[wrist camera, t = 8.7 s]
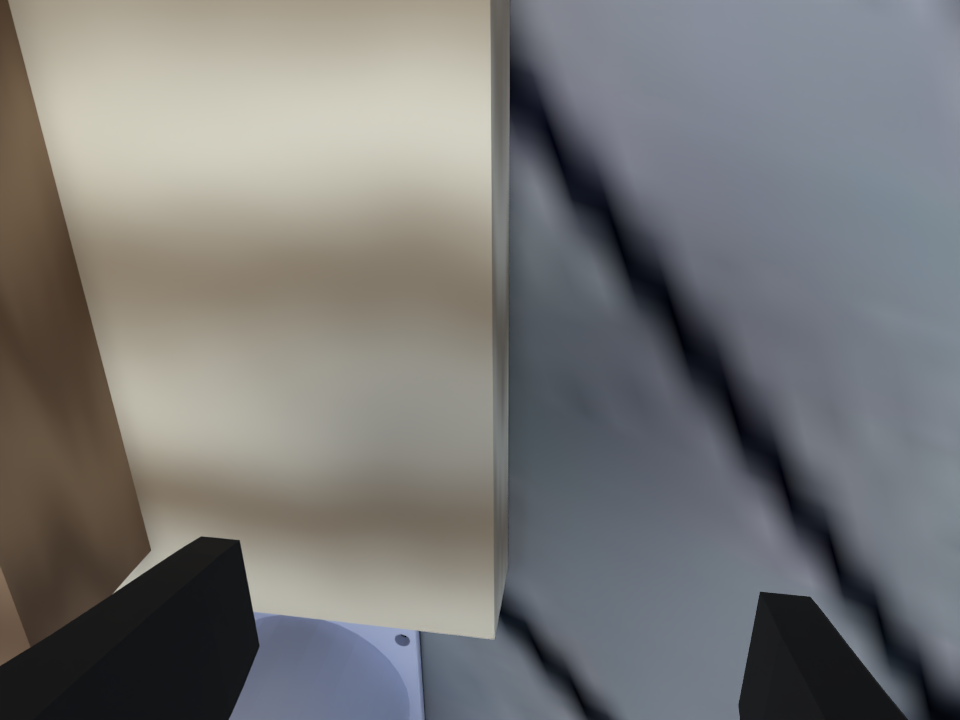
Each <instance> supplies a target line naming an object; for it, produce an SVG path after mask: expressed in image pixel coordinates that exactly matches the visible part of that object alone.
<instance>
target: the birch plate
mask: <svg viewBox="0 0 960 720" xmlns="http://www.w3.org/2000/svg"><path fill="white" fill-rule="evenodd" d="M8 2H9V6H10V10H11V13H12V17H13V21H14V25H15V29H16V33H17V36H18V40H19V44H20V48H21V52H22V56H23V60H24V63H25V67H26V71H27V75H28V79H29V83H30V86H31V90H32V94H33V98H34V102H35V106H36V109H37V113H38V117H39V121H40V125H41V129H42V133H43V136H44V140H45V144H46V148H47V152H48V156H49V159H50V163H51V167H52V171H53V175H54V179H55V182H56V186H57V190H58V194H59V198H60V202H61V206H62V209H63V213H64V217H65V221H66V225H67V229H68V232H69V236H70V240H71V244H72V248H73V252H74V255H75V259H76V263H77V267H78V271H79V275H80V279H81V282H82V286H83V290H84V294H85V298H86V302H87V305H88V309H89V313H90V317H91V321H92V325H93V328H94V332H95V336H96V340H97V344H98V348H99V352H100V355H101V359H102V363H103V367H104V371H105V375H106V378H107V382H108V386H109V390H110V394H111V398H112V401H113V405H114V409H115V413H116V417H117V421H118V425H119V428H120V432H121V436H122V440H123V444H124V448H125V451H126V455H127V459H128V463H129V467H130V471H131V474H132V478H133V482H134V486H135V490H136V494H137V498H138V501H139V505H140V509H141V513H142V517H143V521H144V524H145V528H146V532H147V536H148V540H149V544H150V547H151V551H150V552H149V554H148V555H147V556H146V557H145V558H144V559H143V560H142V561H141V562H140V564H139V565H138V566H137V567H136V568H135V569H134V570H133V571H132V573H131V574H130V575H129V576H128V577H127V578H126V579H125V580H124V582H123V583H122V584H121V585H120V586H119V587H118V588H117V589H116V590H115V592H116V591H118V590H119V589H121V588H122V587H124V586H125V585H127V584H128V583H130V582H131V581H133V580H134V579H136V578H137V577H139V576H140V575H142V574H143V573H145V572H146V571H148V570H149V569H151V568H152V567H154V566H155V565H157V564H158V563H160V562H161V561H163V560H164V559H166V558H167V557H169V556H170V555H172V554H173V553H175V552H176V551H178V550H179V549H181V548H183V547H184V546H186V545H187V544H189V543H191V542H192V541H194V540H196V539H197V538H199V537H201V536H204V537H214V538H224V539H234V540H240V544H241V549H242V554H243V560H244V565H245V570H246V576H247V581H248V586H249V592H250V597H251V602H252V608H253V612H260V613H269V614H277V615H286V616H295V617H303V618H312V619H321V620H329V621H338V622H346V623H355V624H364V625H372V626H381V627H390V628H398V629H407V630H416V631H424V632H433V633H442V634H450V635H459V636H468V637H476V638H485V639H494V640H495V634H496V629H497V624H498V618H499V613H500V608H501V603H502V597H503V592H504V587H505V581H506V576H507V571H508V413H509V125H510V0H8ZM115 592H114V593H115Z"/></svg>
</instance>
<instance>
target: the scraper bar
mask: <svg viewBox="0 0 960 720" xmlns="http://www.w3.org/2000/svg"><path fill="white" fill-rule="evenodd" d="M150 551H151V547H150V544H149V540H148V536H147V532H146V528H145V524H144V521H143V517H142V513H141V509H140V505H139V501H138V498H137V494H136V490H135V486H134V482H133V478H132V474H131V471H130V467H129V463H128V459H127V455H126V451H125V448H124V444H123V440H122V436H121V432H120V428H119V425H118V421H117V417H116V413H115V409H114V405H113V401H112V398H111V394H110V390H109V386H108V382H107V378H106V375H105V371H104V367H103V363H102V359H101V355H100V352H99V348H98V344H97V340H96V336H95V332H94V328H93V325H92V321H91V317H90V313H89V309H88V305H87V302H86V298H85V294H84V290H83V286H82V282H81V279H80V275H79V271H78V267H77V263H76V259H75V255H74V252H73V248H72V244H71V240H70V236H69V232H68V229H67V225H66V221H65V217H64V213H63V209H62V206H61V202H60V198H59V194H58V190H57V186H56V182H55V179H54V175H53V171H52V167H51V163H50V159H49V156H48V152H47V148H46V144H45V140H44V136H43V133H42V129H41V125H40V121H39V117H38V113H37V109H36V106H35V102H34V98H33V94H32V90H31V86H30V83H29V79H28V75H27V71H26V67H25V63H24V60H23V56H22V52H21V48H20V44H19V40H18V36H17V33H16V29H15V25H14V21H13V17H12V13H11V10H10V6H9V2H8V0H0V666H1V665H2V664H4V663H6V662H7V661H9V660H10V659H12V658H14V657H15V656H17V655H19V654H20V653H22V652H23V651H25V650H27V649H28V648H30V647H32V646H33V645H35V644H36V643H38V642H40V641H41V640H43V639H45V638H46V637H48V636H49V635H51V634H53V633H54V632H56V631H57V630H59V629H60V628H62V627H63V626H65V625H66V624H68V623H69V622H71V621H72V620H74V619H76V618H77V617H79V616H80V615H82V614H83V613H85V612H86V611H88V610H89V609H91V608H92V607H94V606H95V605H97V604H98V603H100V602H101V601H103V600H104V599H106V598H107V597H109V596H110V595H112V594H113V593H114V592H115V590H116V589H117V588H118V587H119V586H120V585H121V584H122V583H123V582H124V580H125V579H126V578H127V577H128V576H129V575H130V574H131V573H132V571H133V570H134V569H135V568H136V567H137V566H138V565H139V564H140V562H141V561H142V560H143V559H144V558H145V557H146V556H147V555H148V554H149V552H150Z"/></svg>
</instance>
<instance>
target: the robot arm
mask: <svg viewBox="0 0 960 720" xmlns="http://www.w3.org/2000/svg"><path fill="white" fill-rule="evenodd" d="M400 634H402V635H405V636H407V637H403V636H401V635H400ZM739 714H740V720H908V719H907V718H906V717H905V715H904V714H903V713H902V712H901V711H900V709H899V708H898V707H897V706H896V704H895V703H894V702H893V701H892V700H891V698H890V697H889V696H888V695H887V693H886V692H885V691H884V690H883V688H882V687H881V686H880V685H879V683H878V682H877V681H876V680H875V678H874V677H873V676H872V675H871V673H870V672H869V671H868V670H867V668H866V667H865V666H864V665H863V663H862V662H861V661H860V659H859V658H858V657H857V656H856V654H855V653H854V652H853V650H852V649H851V648H850V647H849V645H848V644H847V643H846V641H845V640H844V639H843V638H842V636H841V635H840V634H839V632H838V631H837V630H836V629H835V627H834V626H833V625H832V623H831V622H830V621H829V619H828V618H827V617H826V616H825V614H824V613H823V612H822V610H821V609H820V608H819V607H818V605H817V604H816V603H815V602H814V601H813V600H812V598H811V597H807V596H797V595H787V594H777V593H767V592H760V595H759V600H758V605H757V611H756V616H755V621H754V626H753V632H752V637H751V642H750V647H749V653H748V658H747V663H746V668H745V674H744V679H743V684H742V689H741V695H740V700H739ZM0 720H425V716H424V700H423V685H422V669H421V654H420V638H419V631H416V630H407V629H398V628H390V627H381V626H372V625H364V624H355V623H346V622H338V621H329V620H321V619H312V618H303V617H295V616H286V615H277V614H269V613H260V612H253V608H252V602H251V597H250V592H249V586H248V581H247V576H246V570H245V565H244V560H243V554H242V549H241V544H240V540H234V539H224V538H214V537H204V536H201V537H199V538H197V539H196V540H194V541H192V542H191V543H189V544H187V545H186V546H184V547H183V548H181V549H179V550H178V551H176V552H175V553H173V554H172V555H170V556H169V557H167V558H166V559H164V560H163V561H161V562H160V563H158V564H157V565H155V566H154V567H152V568H151V569H149V570H148V571H146V572H145V573H143V574H142V575H140V576H139V577H137V578H136V579H134V580H133V581H131V582H130V583H128V584H127V585H125V586H124V587H122V588H121V589H119V590H118V591H116V592H115V593H113V594H112V595H110V596H109V597H107V598H106V599H104V600H103V601H101V602H100V603H98V604H97V605H95V606H94V607H92V608H91V609H89V610H88V611H86V612H85V613H83V614H82V615H80V616H79V617H77V618H76V619H74V620H72V621H71V622H69V623H68V624H66V625H65V626H63V627H62V628H60V629H59V630H57V631H56V632H54V633H53V634H51V635H49V636H48V637H46V638H45V639H43V640H41V641H40V642H38V643H36V644H35V645H33V646H32V647H30V648H28V649H27V650H25V651H23V652H22V653H20V654H19V655H17V656H15V657H14V658H12V659H10V660H9V661H7V662H6V663H4V664H2V665H1V666H0Z"/></svg>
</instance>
